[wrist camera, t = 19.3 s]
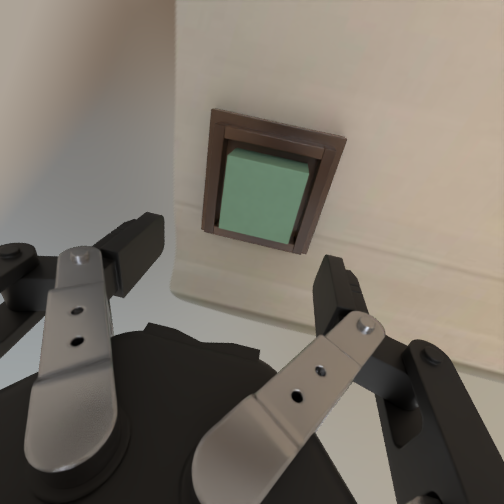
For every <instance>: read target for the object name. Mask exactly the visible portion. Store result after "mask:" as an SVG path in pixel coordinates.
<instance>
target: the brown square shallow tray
mask: <svg viewBox="0 0 504 504" xmlns="http://www.w3.org/2000/svg"><path fill="white" fill-rule="evenodd" d="M346 141H347V139H346V138H345V137H343V136H338V135H333V134H329V133H324V132H320V131H315V130H311V129H306V128H302V127H297V126H293V125H288V124H284V123H279V122H275V121H270V120H265V119H261V118H256V117H252V116H247V115H243V114H238V113H234V112H229V111H225V110H220V109H216V108H215V109H211V120H210V132H209V144H208V156H207V168H206V180H205V192H204V204H203V216H202V227H201V229H202V230H204V232H207V233H211V234H216V235H220V236H224V237H228V238H233V239H237V240H241V241H245V242H249V243H254V244H258V245H262V246H266V247H270V248H275V249H279V250H283V251H287V252H292V253H296V254H300V255H301V253H303V254H306V253H307V250H308V248H309V245H310V242H311V239H312V236H313V234H314V231H315V228H316V225H317V222H318V220H319V217H320V214H321V211H322V208H323V206H324V203H325V200H326V197H327V194H328V191H329V189H330V186H331V183H332V180H333V177H334V175H335V172H336V169H337V166H338V163H339V161H340V158H341V155H342V152H343V149H344V146H345V144H346ZM236 148H241V149H245V150H250V151H254V152H259V153H263V154H268V155H272V156H276V157H281V158H285V159H290V160H294V161H299V162H303V163H307V164H308V169H309V176H308V180H307V183H306V186H305V190H304V193H303V196H302V200H301V203H300V206H299V210H298V213H297V216H296V220H295V223H294V226H293V230H292V233H291V236H290V239H289V243H288V244H284V243H280V242H276V241H271V240H267V239H263V238H259V237H254V236H250V235H246V234H242V233H237V232H233V231H229V230H225V229H221V228H219V219H220V211H221V203H222V195H223V187H224V179H225V171H226V163H227V155H228V154H230V153H231V152H232V151H233V150H234V149H236Z"/></svg>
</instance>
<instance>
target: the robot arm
mask: <svg viewBox="0 0 504 504" xmlns="http://www.w3.org/2000/svg"><path fill="white" fill-rule="evenodd" d="M163 248H164V217H163V216H162V215H158V214H154V213H150V212H146V213H144V214H143V215H142V216H141V217H139V218H138V219H137V220H136V219H133V220H130V221H127V222H124V223H123V224H122V225H120V226H119V227H117V229H115V230H113V231H112V232H111V233H109V234H108V235H106V236H105V237H104V238H102V239H101V240H100V241H98V242H97V243H96V244H94V245H93V246H92V247H91V246H78V247H73V248H70V249H67V250H65V251H63V252H62V253H61V254H60V255H59V256H58V257H57V256H37V253H36V250H35V248H34V246H32V245H30V244H26V243H10V244H5V245H1V246H0V293H1V294H2V296H3V298H4V300H5V301H4V302H3V303H2V304H0V358H1V357H2V356H3V355H4V354H6V353H7V352H8V351H9V350H10V349H11V348H12V347H13V346H14V345H15V344H16V343H17V342H18V341H19V340H20V339H21V338H22V337H23V336H24V335H25V334H26V333H27V332H28V331H29V330H30V329H31V328H32V327H34V326H35V325H36V324H37V323H38V322H39V321H40V320H41V319H42V318H43V317H44V316H45V322H44V331H43V339H42V348H41V356H40V364H39V372H37V373H35V374H33V375H30V376H29V377H26V378H24V379H22V380H20V381H18V382H16V383H14V384H12V385H9V386H7V387H5V388H3V389H1V390H0V504H357V502H356V501H355V499H354V497H353V495H352V494H351V492H350V490H349V489H348V487H347V486H346V484H345V482H344V480H343V479H342V477H341V475H340V473H339V472H338V471H337V468H336V467H335V465H334V463H333V462H332V460H331V459H330V457H329V455H328V453H327V452H326V450H325V448H324V447H323V445H322V443H321V442H320V440H319V438H318V437H317V435H316V431H317V430H318V428H319V427H320V426H321V424H322V423H323V421H324V420H325V419H326V417H327V416H328V415H329V413H330V412H331V411H332V409H333V408H334V407H335V405H336V404H337V402H338V401H339V400H340V398H341V397H342V396H343V394H344V393H345V392H346V390H347V389H348V388H349V386H350V385H351V384H352V382H355V383H357V384H359V385H360V386H362V387H364V388H366V389H368V390H369V391H371V392H373V393H375V397H376V402H377V407H378V412H379V417H380V421H381V427H382V432H383V436H384V442H385V446H386V451H387V456H388V461H389V466H390V471H391V476H392V481H393V486H394V491H395V496H396V501H397V504H504V461H503V459H502V457H501V455H500V454H499V451H498V450H497V448H496V446H495V444H494V442H493V440H492V438H491V436H490V434H489V432H488V430H487V428H486V427H485V425H484V423H483V421H482V419H481V417H480V415H479V413H478V411H477V409H476V407H475V405H474V404H473V402H472V400H471V398H470V396H469V394H468V392H467V390H466V389H465V386H464V384H463V383H462V380H461V379H460V377H459V375H458V373H457V371H456V369H455V367H454V365H453V363H452V361H451V360H450V359H449V357H448V356H447V355H446V354H445V353H444V352H443V351H442V350H441V349H439V348H438V347H436V346H435V345H433V344H431V343H429V342H427V341H424V340H418V339H417V340H413V341H411V342H410V344H409V345H408V346H407V345H405V344H403V343H400V342H398V341H396V340H394V339H392V338H390V337H388V336H387V335H385V330H384V327H383V326H382V324H381V323H380V322H379V321H378V320H377V319H376V318H374V317H373V316H371V315H369V313H368V310H367V306H366V303H365V300H364V297H363V294H362V291H361V288H360V285H359V282H358V279H357V278H356V276H355V275H354V274H353V273H352V272H351V271H350V270H346V269H345V266H344V263H343V259H342V258H339V257H335V256H331V255H325V256H324V258H323V261H322V263H321V266H320V268H319V271H318V273H317V275H316V278H315V281H314V284H313V303H314V315H315V327H316V338H315V339H314V340H313V341H312V342H311V343H310V344H309V345H308V346H307V347H305V348H304V349H303V350H302V351H301V352H300V353H299V354H298V355H297V356H296V357H295V358H293V359H292V360H291V361H290V362H289V363H288V364H287V365H286V366H285V367H284V368H282V369H281V370H280V371H279V372H278V373H277V372H276V371H275V370H274V369H273V368H272V367H271V366H269V365H268V364H266V363H265V362H263V361H262V360H260V359H259V353H260V350H258V349H254V348H250V347H246V346H242V345H238V344H234V343H205V342H200V341H198V340H196V339H194V338H192V337H190V336H188V335H186V334H184V333H182V332H180V331H179V330H176V329H173V328H169V327H166V326H161V325H157V324H153V323H148V324H147V326H146V327H145V329H144V330H143V331H132V332H127V333H122V334H119V335H116V336H114V331H113V324H112V316H111V309H110V301H109V299H110V298H111V297H112V296H113V295H114V296H118V297H122V298H124V297H125V296H126V295H127V294H128V293H129V291H130V290H131V289H132V288H133V287H134V285H135V284H136V283H137V282H138V281H139V280H140V279H141V277H142V276H143V275H144V274H145V273H146V271H147V270H148V269H149V268H150V267H151V266H152V264H153V263H154V262H155V261H156V260H157V259H158V257H159V256H160V255H161V253H162V251H163Z"/></svg>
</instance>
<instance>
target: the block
mask: <svg viewBox="0 0 504 504" xmlns="http://www.w3.org/2000/svg"><path fill="white" fill-rule="evenodd" d="M308 176H309V169H308V164H307V163H303V162H299V161H294V160H290V159H285V158H281V157H276V156H272V155H268V154H263V153H259V152H254V151H250V150H245V149H241V148H236V149H234V150H233V151H232V152H231V153H230V154H228V155H227V163H226V171H225V179H224V187H223V195H222V203H221V211H220V219H219V228H221V229H225V230H229V231H233V232H237V233H242V234H246V235H250V236H254V237H259V238H263V239H267V240H271V241H276V242H280V243H284V244H288V243H289V239H290V236H291V233H292V230H293V226H294V223H295V220H296V216H297V213H298V210H299V206H300V203H301V200H302V196H303V193H304V190H305V186H306V183H307V180H308Z"/></svg>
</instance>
